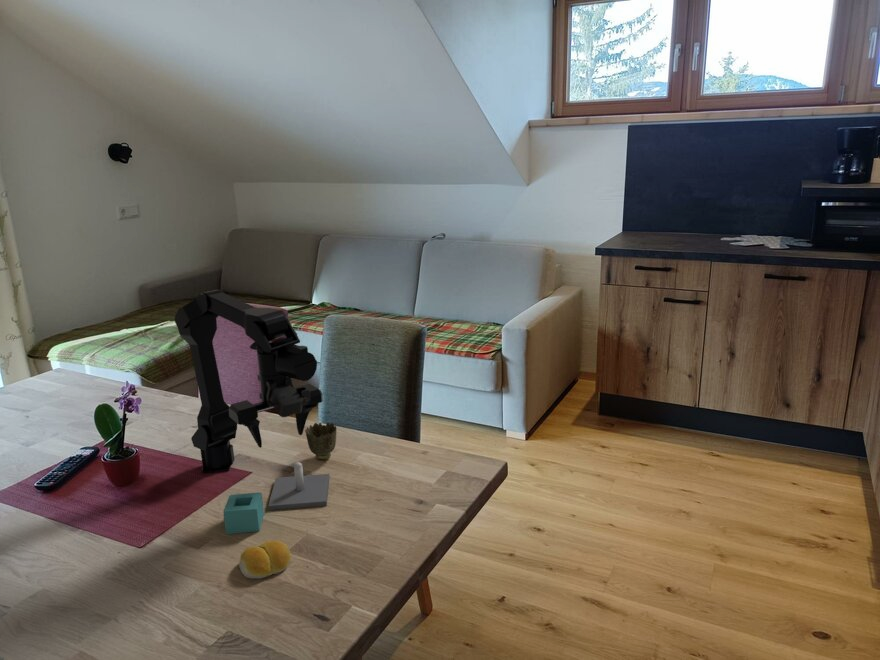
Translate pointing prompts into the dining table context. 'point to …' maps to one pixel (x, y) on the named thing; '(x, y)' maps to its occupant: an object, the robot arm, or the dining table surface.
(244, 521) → the teal block with hole
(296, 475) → the post stand
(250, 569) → the bread roll
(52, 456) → the dining table surface
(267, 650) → the dining table surface
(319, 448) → the cup
